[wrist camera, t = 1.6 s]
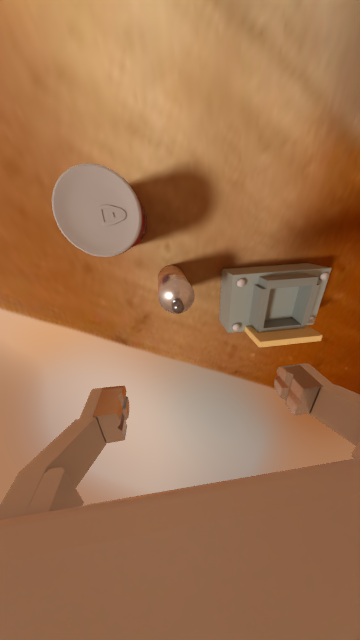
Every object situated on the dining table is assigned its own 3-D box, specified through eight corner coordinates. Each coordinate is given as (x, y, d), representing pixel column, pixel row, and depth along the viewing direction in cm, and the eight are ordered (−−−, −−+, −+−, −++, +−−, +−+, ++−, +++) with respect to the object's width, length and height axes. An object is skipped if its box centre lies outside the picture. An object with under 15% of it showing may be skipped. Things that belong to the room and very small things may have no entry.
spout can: (156, 266, 30) (157, 283, 20) (183, 264, 30) (196, 280, 20) (159, 291, 32) (160, 319, 22) (184, 289, 32) (196, 316, 22)
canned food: (154, 237, 28) (154, 241, 18) (107, 256, 29) (82, 269, 19) (133, 179, 25) (117, 145, 15) (79, 201, 25) (30, 182, 15)
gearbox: (222, 268, 31) (248, 283, 23) (307, 262, 33) (364, 274, 24) (219, 320, 36) (239, 349, 27) (294, 313, 37) (338, 338, 28)
